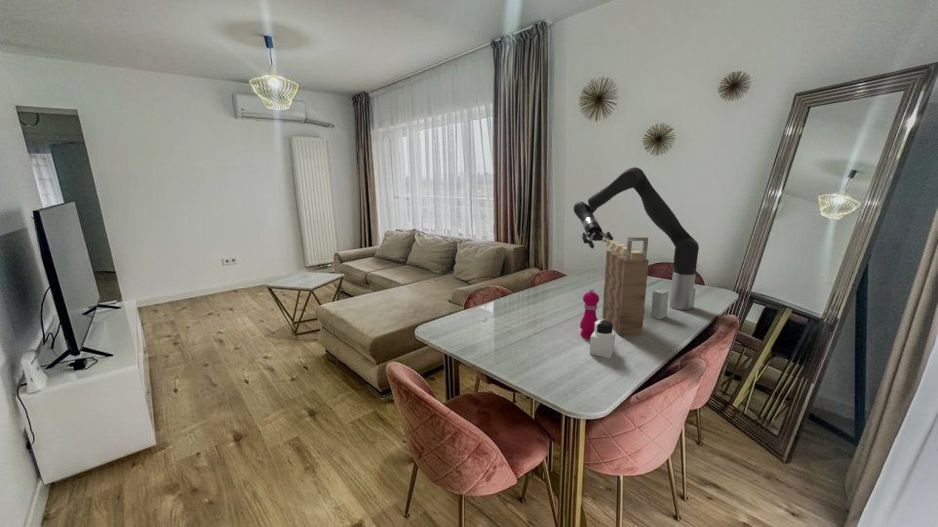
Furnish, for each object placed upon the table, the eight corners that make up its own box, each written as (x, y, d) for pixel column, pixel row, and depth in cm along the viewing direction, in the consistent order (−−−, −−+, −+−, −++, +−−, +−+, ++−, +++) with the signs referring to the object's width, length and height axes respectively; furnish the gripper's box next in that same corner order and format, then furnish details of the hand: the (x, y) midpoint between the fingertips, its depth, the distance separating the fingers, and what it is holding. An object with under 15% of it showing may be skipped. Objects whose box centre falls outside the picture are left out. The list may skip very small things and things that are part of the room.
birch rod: (606, 246, 165) (606, 240, 164) (613, 246, 165) (614, 240, 164) (634, 261, 136) (634, 253, 135) (642, 261, 136) (643, 253, 135)
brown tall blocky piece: (602, 317, 164) (607, 230, 155) (622, 316, 164) (629, 230, 155) (619, 335, 144) (626, 238, 135) (641, 335, 144) (650, 237, 135)
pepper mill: (589, 341, 140) (591, 292, 135) (575, 334, 146) (577, 287, 142) (602, 337, 143) (605, 289, 139) (588, 331, 149) (591, 285, 145)
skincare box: (659, 319, 159) (662, 293, 157) (649, 316, 163) (652, 291, 160) (667, 316, 163) (669, 291, 160) (657, 313, 166) (660, 288, 164)
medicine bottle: (614, 351, 132) (616, 320, 129) (610, 359, 126) (612, 327, 123) (594, 346, 136) (596, 316, 133) (589, 354, 130) (591, 323, 127)
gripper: (579, 221, 185) (589, 241, 173) (607, 220, 185) (618, 240, 173) (577, 233, 190) (585, 253, 178) (603, 232, 190) (614, 252, 178)
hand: (601, 247), depth 175 cm, fingers open, 8 cm apart
